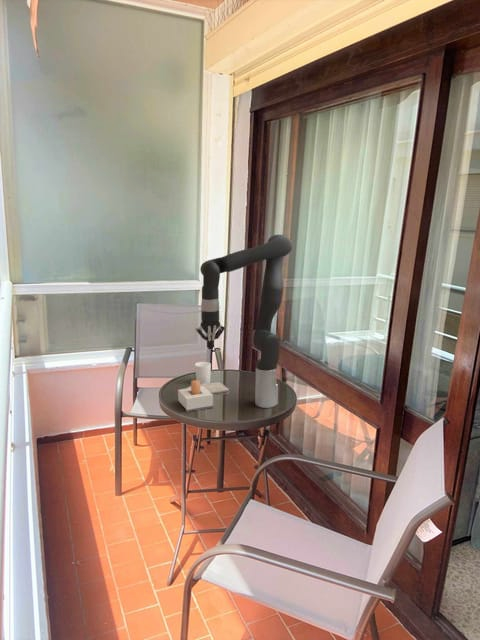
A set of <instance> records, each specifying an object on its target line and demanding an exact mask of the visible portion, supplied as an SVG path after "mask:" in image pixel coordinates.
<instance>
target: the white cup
mask: <svg viewBox="0 0 480 640" xmlns="http://www.w3.org/2000/svg"><path fill="white" fill-rule="evenodd" d="M194 367H195V368H194V369H195V378H196V379H195V380H199V381H200V384H205V383H209V382H210V383H211V372H212V363H210V361H209V362H208V361H198V362H196V363H195V364H194Z"/></svg>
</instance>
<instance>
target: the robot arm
mask: <svg viewBox="0 0 480 640" xmlns="http://www.w3.org/2000/svg"><path fill="white" fill-rule="evenodd" d="M292 249H293V242H292V240H291V238H290V237H289V236H287V235H285V234H273V235H271V236H270V237H269V238H268V240H267V242H266V243H264V244H261V245H258V246H254V247H250V248H246V249H242V250H238V251H234V252H232V253H229V254H227V255H224V256H221V257H216V258H212V259H208V260H206V261H203V263H202V264H201V265H200V268H199V269H200V270H199V271H200V273H201V275H202V278H203V280H202V282H203V283H202V287H201V303H200V308H201V309H200V310H201V313H200V314H201V315H200V317H201V318H200V321H201V322H200V325H199V327H197V328H195V332H197V334H198V335H199V336H200V337H201V338H202V339H203V340H204V341H206V347H207V349H208V350H214V348H215V340H218V339H219V338H220V337H221V335H222V334H223V332H224V331H225V329H226V327H225V326H223V325H222V324H221V322H220V301H219V296H220V295H219V285H220V277H221V274H224V273H230V272H231V273H232V272H234V271H237V270H240V269H242V268H246V267H248V266H250V265H253V264H255V263H258V262H262V261H265V269H264V273H263V279H262V286H261V287H262V288H261V292H260V302H259V309H258V313H257V314H258V316H257V320H256V326H255V329H254V333H253V339H252V341H253V342H252V343H253V347H254V348H255V349H256V350H257V351H259V352H260V358H259V359H257V360H256V361H255V397H254V399H255V400H254V401H255V402H254V403H255V406H257V407H259V408H267V409H268V408H269V409H270V408H273V407H275V406H277V405H278V404H279V403H278V402H279V384H278V383H277V377H278V376H277V375H278V374H277V373H278V372H277V369H278V368H277V367H278V363H279V359H280V358H279V357H280V348H281V346H280V345H281V343H280V338H279V336H278V335H276V334H274V333H272V331H271V330H272V324H273V319H274V317H275V316H276V314H277V313H278V310H279V309H280V307H281V305H282V302H283V295H284V279H283V269H282V268H283V261H284V257H286V256H287V255H289V254H290V253H291V252H292ZM203 331H204V332H205V334H204V333H203Z"/></svg>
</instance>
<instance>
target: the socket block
mask: <svg viewBox="0 0 480 640" xmlns="http://www.w3.org/2000/svg"><path fill="white" fill-rule="evenodd" d="M177 395H178V397H177V398H178V399H177V401H179V402H180V404H181V405H182V406H183V407H184V408H185V409H186V410H187V411H191V410H196V411H201V410H200V409H202V410H207V409H206V408H208V409H211V408H212V409H213V408H214V396H213V394H211V393H210V392H209V391H208V390H207V389H206V388H205V387H204V386H200V394H196V395H191V388H188V387H186V388H181V389H177ZM179 402H178V403H179ZM180 404H179V405H180ZM181 405H180V406H181ZM182 406H181V407H182ZM183 407H182V408H183ZM184 408H183V409H184ZM185 409H184V410H185ZM186 410H185V411H186ZM187 411H186V412H187ZM191 412H192V411H191Z"/></svg>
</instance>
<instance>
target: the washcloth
mask: <svg viewBox="0 0 480 640" xmlns="http://www.w3.org/2000/svg"><path fill="white" fill-rule="evenodd" d="M200 386H204V387H205V388H206V389H207V390H208V391H209V392H210V393H211V394H213V397H215V396H221V395H228V394H230V392H229V390H230V388H228V387H226V386H225V384H223V383H221V382H219V381H218V382H217V381H216V382H211V381H210V382H209V383H205V384H200ZM187 388H191V385H190V386H187Z"/></svg>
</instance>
